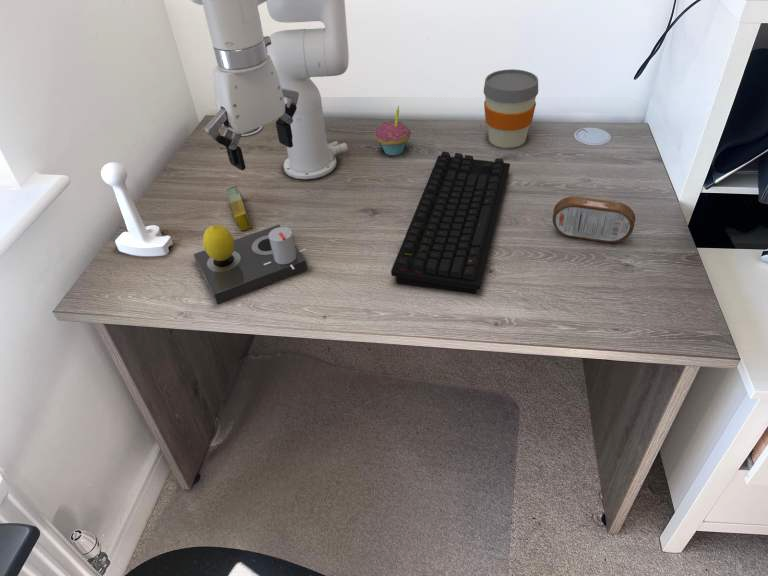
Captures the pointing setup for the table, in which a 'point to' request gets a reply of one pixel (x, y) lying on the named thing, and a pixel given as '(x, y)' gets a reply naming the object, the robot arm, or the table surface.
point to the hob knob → (282, 245)
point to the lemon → (218, 242)
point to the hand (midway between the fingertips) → (263, 155)
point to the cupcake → (392, 136)
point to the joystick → (133, 219)
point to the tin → (593, 219)
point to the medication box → (239, 208)
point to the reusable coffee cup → (509, 106)
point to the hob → (247, 269)
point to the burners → (258, 247)
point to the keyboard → (453, 225)
